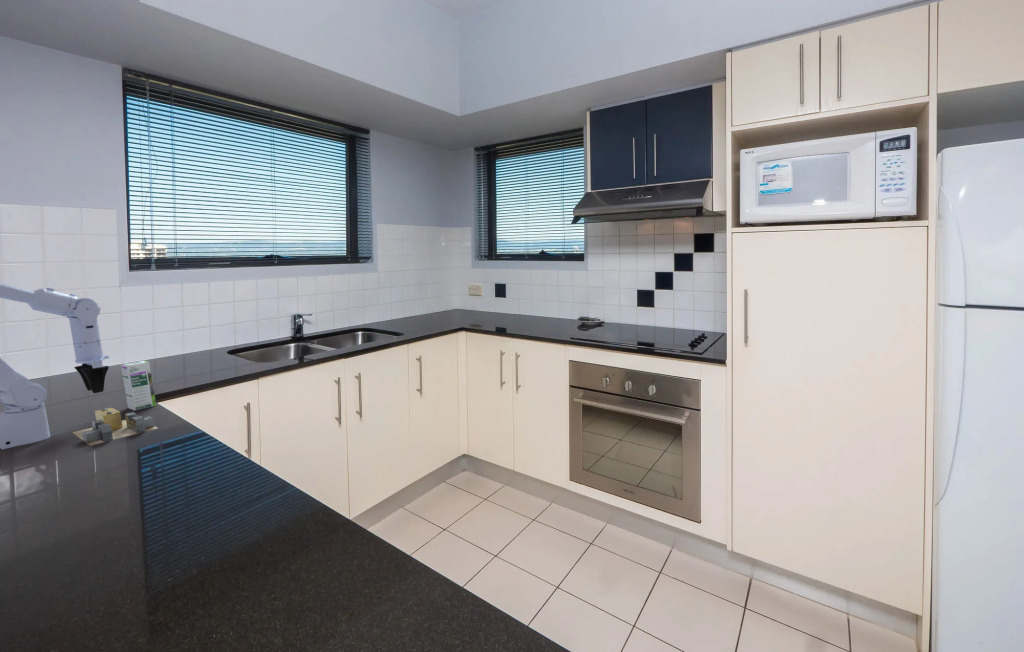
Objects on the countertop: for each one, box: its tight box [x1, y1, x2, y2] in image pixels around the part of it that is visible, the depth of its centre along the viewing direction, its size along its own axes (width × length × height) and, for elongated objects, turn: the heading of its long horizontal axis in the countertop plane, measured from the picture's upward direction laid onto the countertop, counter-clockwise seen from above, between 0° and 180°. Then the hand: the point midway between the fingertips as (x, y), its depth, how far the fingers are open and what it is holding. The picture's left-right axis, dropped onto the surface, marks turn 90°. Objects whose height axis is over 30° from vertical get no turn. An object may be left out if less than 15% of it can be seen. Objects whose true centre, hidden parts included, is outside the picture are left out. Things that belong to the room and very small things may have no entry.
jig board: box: [71, 419, 158, 446], centre depth 129 cm, size 14×18×1 cm
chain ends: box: [82, 411, 155, 444], centre depth 126 cm, size 14×9×4 cm, turn 141°
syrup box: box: [120, 360, 157, 411], centre depth 150 cm, size 6×6×14 cm
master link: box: [94, 407, 123, 430], centre depth 132 cm, size 4×8×4 cm, turn 51°
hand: (95, 391), depth 136 cm, fingers open, 5 cm apart
